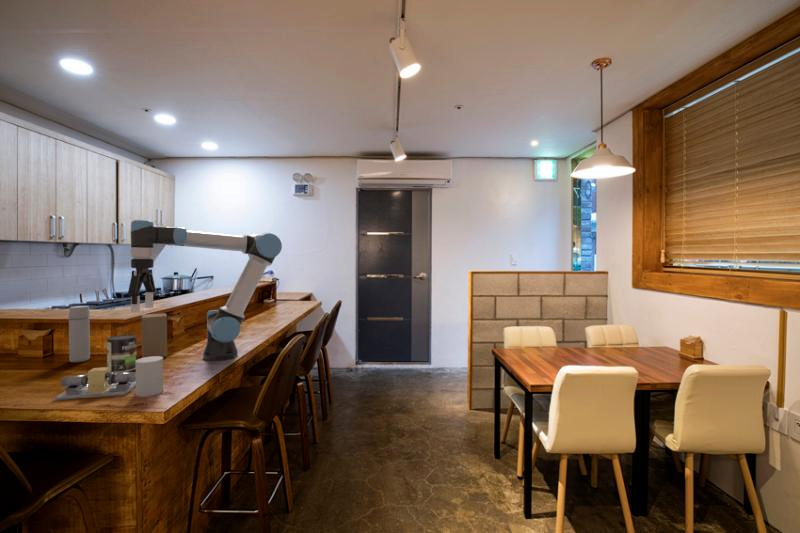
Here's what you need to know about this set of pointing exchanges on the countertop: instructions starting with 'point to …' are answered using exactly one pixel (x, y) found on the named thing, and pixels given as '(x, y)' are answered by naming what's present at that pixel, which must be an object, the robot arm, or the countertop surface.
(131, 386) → the shaft bed
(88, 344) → the water bottle
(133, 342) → the coffee can
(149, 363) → the cup
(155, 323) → the wooden block
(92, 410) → the countertop surface
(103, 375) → the coupler
